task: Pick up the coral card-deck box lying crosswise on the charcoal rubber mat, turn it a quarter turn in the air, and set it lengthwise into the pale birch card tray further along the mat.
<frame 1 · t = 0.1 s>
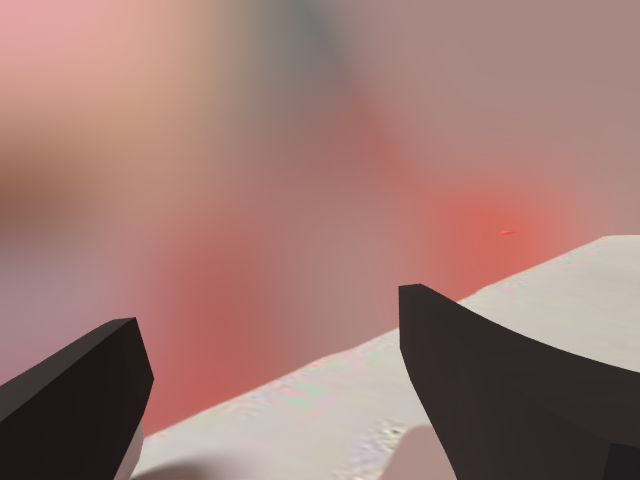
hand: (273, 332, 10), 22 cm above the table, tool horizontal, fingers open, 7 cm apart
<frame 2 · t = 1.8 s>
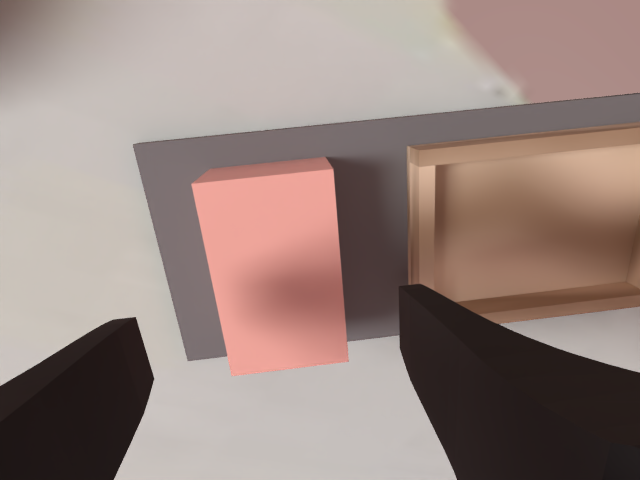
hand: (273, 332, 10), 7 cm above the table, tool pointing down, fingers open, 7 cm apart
mat: (412, 231, 17), on the table
card deck: (280, 251, 16), point 1 cm above the table, touching mat
card tray: (527, 223, 17), resting on mat
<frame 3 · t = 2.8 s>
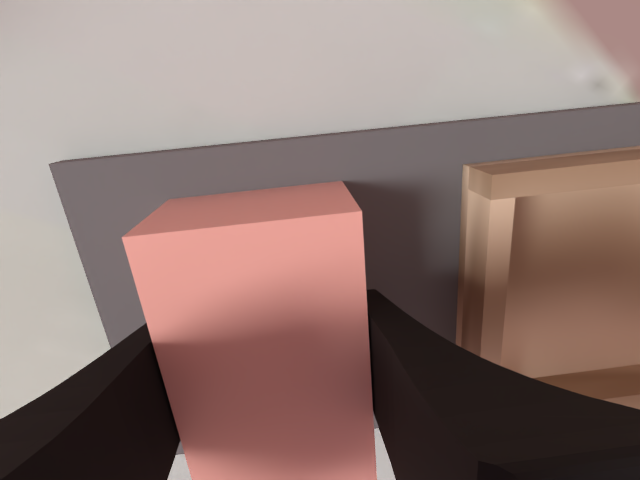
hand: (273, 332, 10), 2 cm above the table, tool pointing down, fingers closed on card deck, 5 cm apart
mat: (462, 281, 12), on the table
card deck: (275, 313, 11), point 1 cm above the table, touching gripper, mat
card tray: (627, 271, 12), resting on mat
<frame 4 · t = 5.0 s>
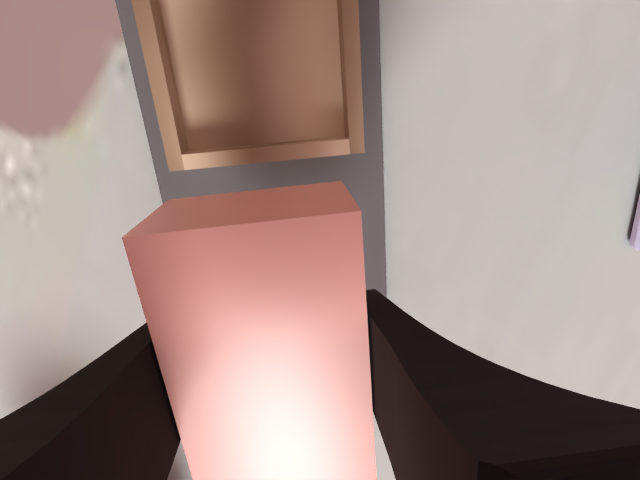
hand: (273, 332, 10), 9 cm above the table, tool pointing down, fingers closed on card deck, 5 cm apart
mat: (269, 145, 17), on the table
card deck: (275, 313, 11), point 8 cm above the table, touching gripper
card tray: (252, 16, 15), resting on mat
when the fingers open (3 cm above the table, at t = 7.5 s): card deck stays where it is, resting on card tray.
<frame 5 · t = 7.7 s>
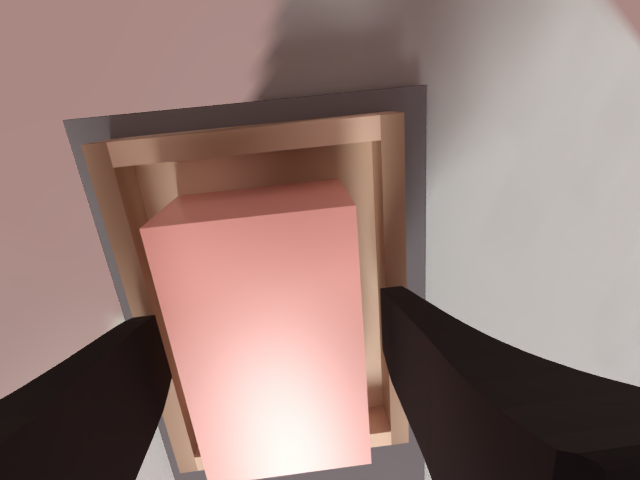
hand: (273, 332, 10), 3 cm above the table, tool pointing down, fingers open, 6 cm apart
mat: (293, 400, 15), on the table
card deck: (276, 303, 12), point 1 cm above the table, touching card tray
card tray: (276, 294, 13), resting on mat
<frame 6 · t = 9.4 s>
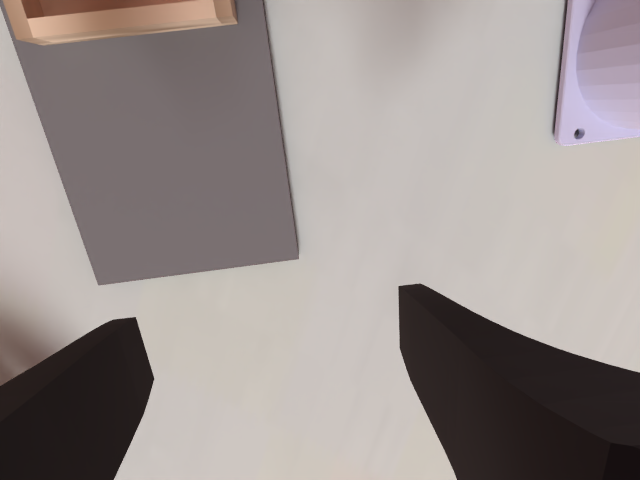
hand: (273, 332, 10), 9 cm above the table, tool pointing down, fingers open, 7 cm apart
mat: (144, 26, 16), on the table
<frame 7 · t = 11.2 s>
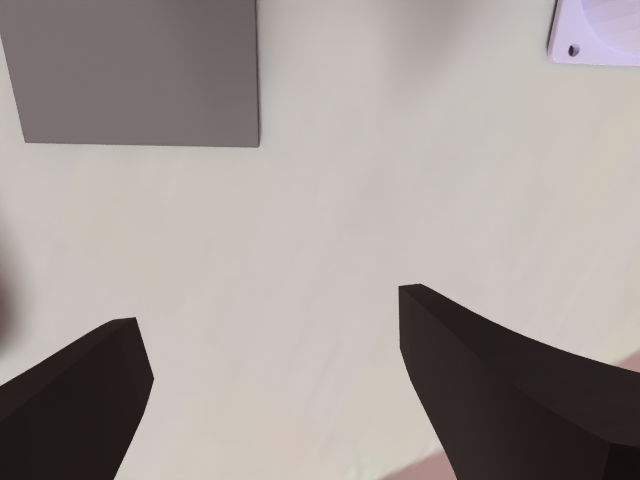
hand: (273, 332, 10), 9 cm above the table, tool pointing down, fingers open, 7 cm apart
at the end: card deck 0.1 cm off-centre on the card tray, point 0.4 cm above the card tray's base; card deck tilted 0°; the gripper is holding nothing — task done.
